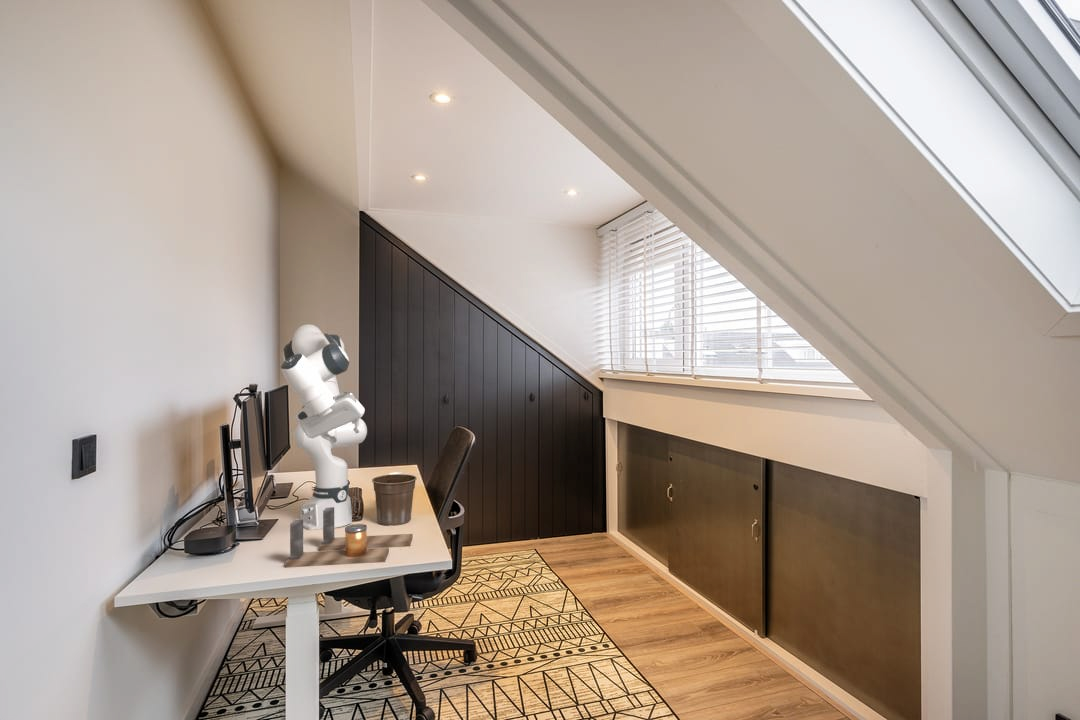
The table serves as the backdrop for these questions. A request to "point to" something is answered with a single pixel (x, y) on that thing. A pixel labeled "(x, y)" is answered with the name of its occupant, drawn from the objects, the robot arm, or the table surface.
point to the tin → (356, 540)
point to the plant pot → (394, 498)
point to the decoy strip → (372, 541)
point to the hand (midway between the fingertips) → (346, 437)
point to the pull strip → (325, 552)
